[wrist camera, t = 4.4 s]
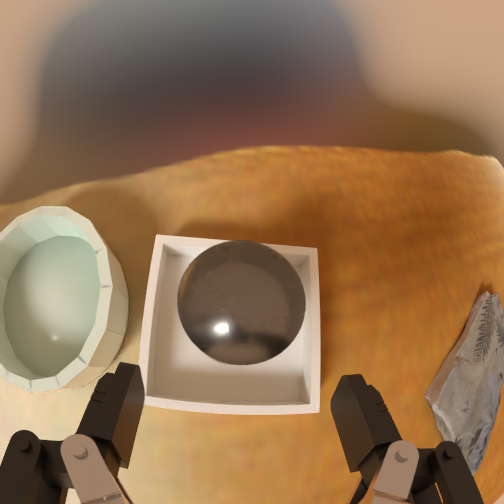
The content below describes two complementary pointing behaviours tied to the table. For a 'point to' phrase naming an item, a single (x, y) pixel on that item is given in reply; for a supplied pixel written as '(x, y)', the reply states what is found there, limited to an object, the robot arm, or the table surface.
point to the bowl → (58, 301)
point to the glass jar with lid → (241, 302)
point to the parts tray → (216, 374)
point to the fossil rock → (471, 382)
